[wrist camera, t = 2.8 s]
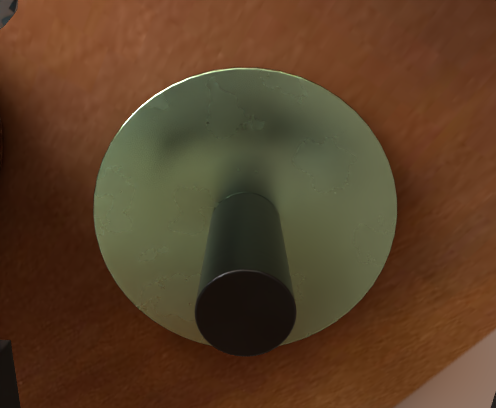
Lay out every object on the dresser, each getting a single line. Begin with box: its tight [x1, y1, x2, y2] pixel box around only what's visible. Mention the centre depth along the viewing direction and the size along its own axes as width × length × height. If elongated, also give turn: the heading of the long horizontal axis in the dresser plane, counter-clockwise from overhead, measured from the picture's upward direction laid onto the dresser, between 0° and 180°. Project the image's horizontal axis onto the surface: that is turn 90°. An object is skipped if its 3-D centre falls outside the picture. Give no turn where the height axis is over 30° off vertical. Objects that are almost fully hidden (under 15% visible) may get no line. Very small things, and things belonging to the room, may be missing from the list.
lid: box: [93, 67, 397, 356], centre depth 20 cm, size 16×16×9 cm
